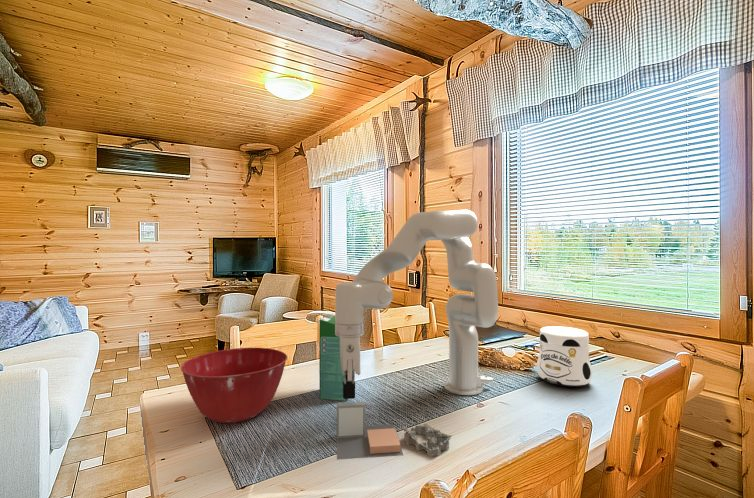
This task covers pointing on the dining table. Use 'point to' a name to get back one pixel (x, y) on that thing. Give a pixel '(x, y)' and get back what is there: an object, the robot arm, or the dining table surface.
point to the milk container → (564, 356)
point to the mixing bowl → (234, 382)
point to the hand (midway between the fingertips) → (349, 397)
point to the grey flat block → (350, 420)
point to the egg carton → (428, 439)
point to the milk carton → (330, 361)
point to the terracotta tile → (383, 441)
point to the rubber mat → (361, 445)
